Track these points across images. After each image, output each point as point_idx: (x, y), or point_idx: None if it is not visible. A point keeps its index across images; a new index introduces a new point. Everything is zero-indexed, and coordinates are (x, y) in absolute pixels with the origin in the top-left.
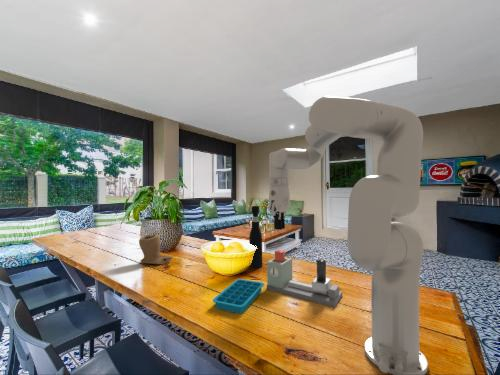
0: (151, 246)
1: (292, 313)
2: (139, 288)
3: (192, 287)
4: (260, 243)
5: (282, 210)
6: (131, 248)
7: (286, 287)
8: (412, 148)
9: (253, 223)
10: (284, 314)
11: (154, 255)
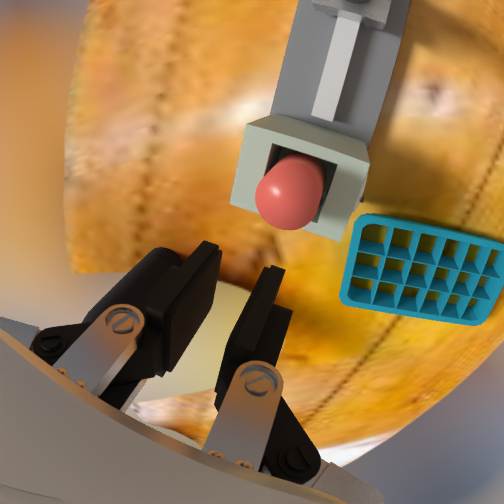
0: None
1: (490, 104)
2: (380, 437)
3: (370, 379)
4: (122, 301)
5: (270, 502)
6: None
7: (351, 127)
8: None
9: None
10: (498, 127)
11: None
